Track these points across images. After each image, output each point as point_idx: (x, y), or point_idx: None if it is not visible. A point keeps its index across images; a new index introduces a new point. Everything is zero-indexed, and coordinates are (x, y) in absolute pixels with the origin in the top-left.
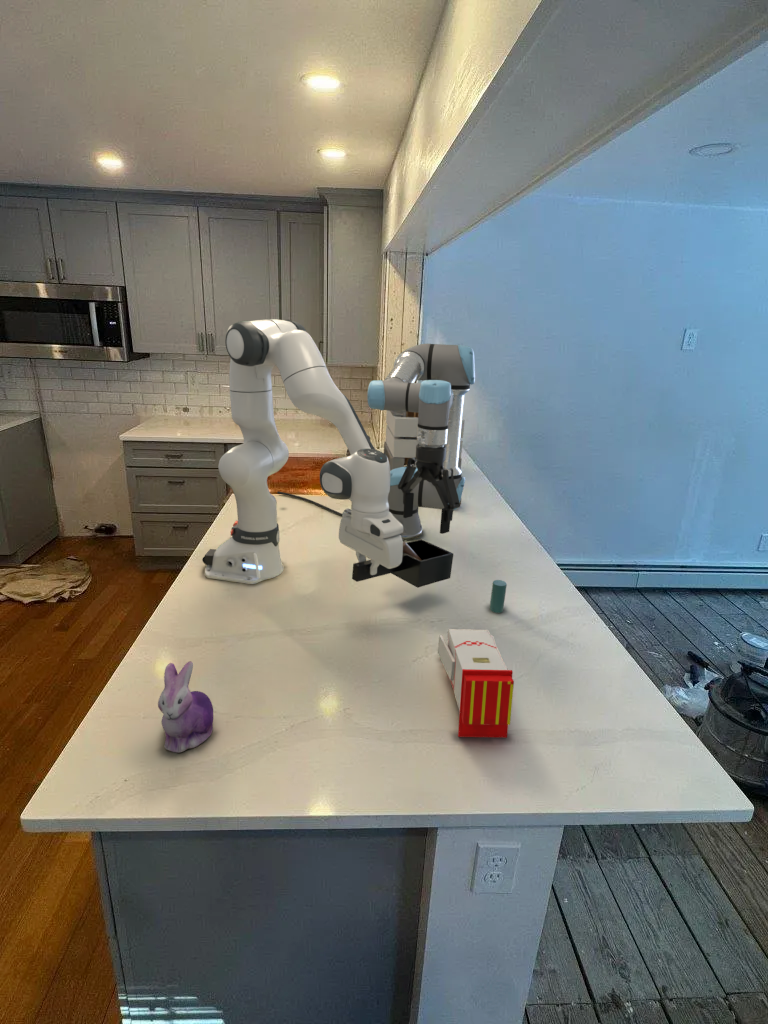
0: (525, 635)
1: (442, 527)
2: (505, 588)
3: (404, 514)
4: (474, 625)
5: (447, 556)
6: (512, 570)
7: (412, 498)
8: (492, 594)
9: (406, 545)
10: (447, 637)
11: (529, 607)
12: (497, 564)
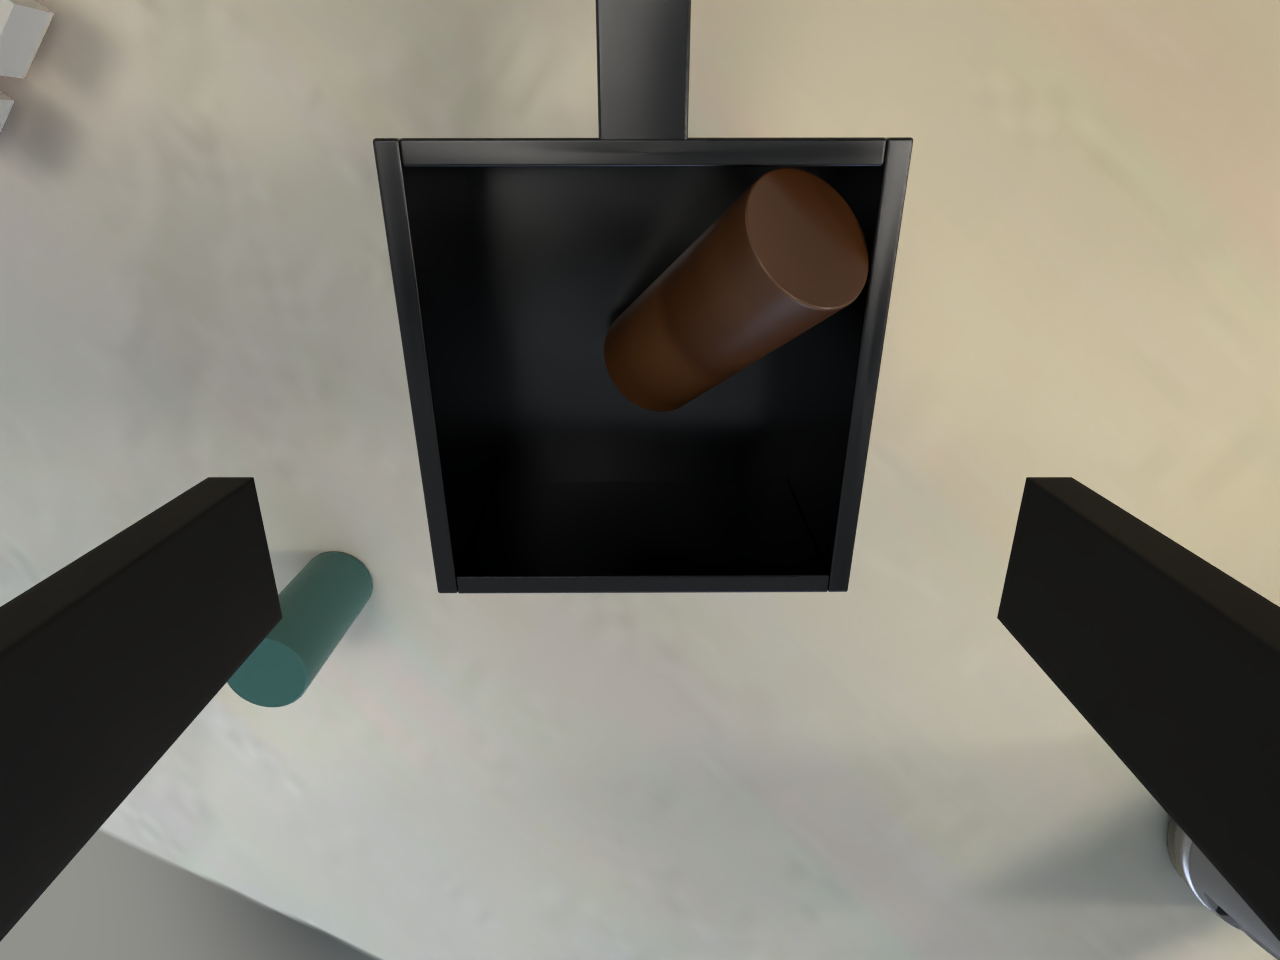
0: (80, 507)
1: (140, 522)
2: None
3: (1079, 500)
4: (267, 377)
5: (431, 518)
6: (588, 901)
7: (1220, 834)
8: (305, 600)
9: (740, 269)
10: (43, 10)
11: (280, 710)
12: (674, 897)
